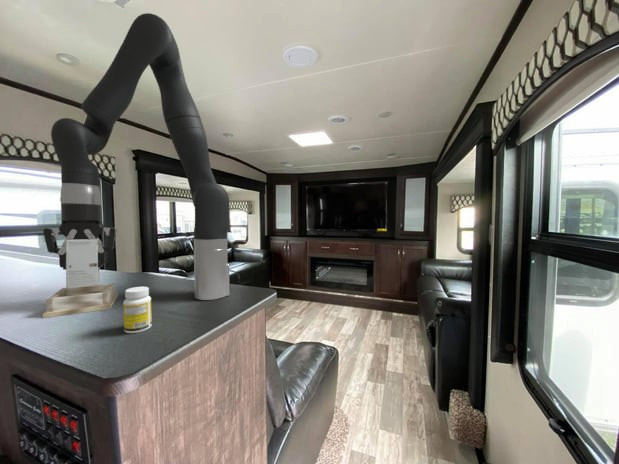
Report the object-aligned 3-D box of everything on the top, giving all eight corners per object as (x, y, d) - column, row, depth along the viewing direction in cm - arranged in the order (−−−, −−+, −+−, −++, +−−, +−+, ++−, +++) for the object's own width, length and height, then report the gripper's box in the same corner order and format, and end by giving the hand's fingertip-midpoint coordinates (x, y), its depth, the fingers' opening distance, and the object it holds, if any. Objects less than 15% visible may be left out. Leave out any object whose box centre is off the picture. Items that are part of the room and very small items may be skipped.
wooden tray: (117, 295, 72) (117, 282, 72) (110, 308, 62) (109, 293, 62) (61, 302, 66) (60, 288, 66) (42, 318, 56) (42, 300, 55)
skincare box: (65, 289, 60) (63, 240, 59) (70, 285, 64) (68, 238, 63) (98, 285, 63) (97, 239, 63) (101, 282, 67) (99, 238, 66)
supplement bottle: (135, 323, 53) (134, 285, 53) (156, 324, 53) (156, 286, 53) (117, 333, 49) (116, 292, 48) (141, 334, 48) (140, 292, 48)
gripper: (119, 204, 69) (120, 263, 70) (47, 202, 62) (50, 268, 63) (115, 203, 63) (116, 268, 64) (34, 200, 56) (37, 273, 56)
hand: (83, 267), depth 63 cm, fingers closed on skincare box, 6 cm apart
